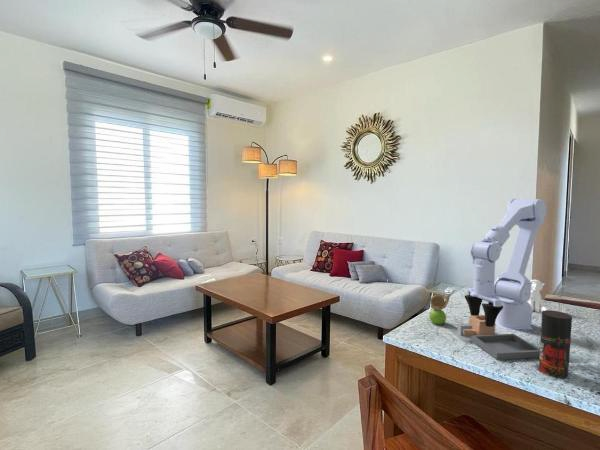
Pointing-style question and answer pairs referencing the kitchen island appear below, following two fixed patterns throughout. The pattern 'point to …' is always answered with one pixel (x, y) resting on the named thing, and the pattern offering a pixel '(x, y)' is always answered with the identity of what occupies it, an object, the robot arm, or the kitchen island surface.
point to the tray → (506, 346)
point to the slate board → (463, 337)
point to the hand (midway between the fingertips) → (481, 321)
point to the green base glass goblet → (438, 309)
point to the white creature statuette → (536, 296)
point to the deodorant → (555, 343)
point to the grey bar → (463, 326)
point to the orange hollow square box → (479, 326)
